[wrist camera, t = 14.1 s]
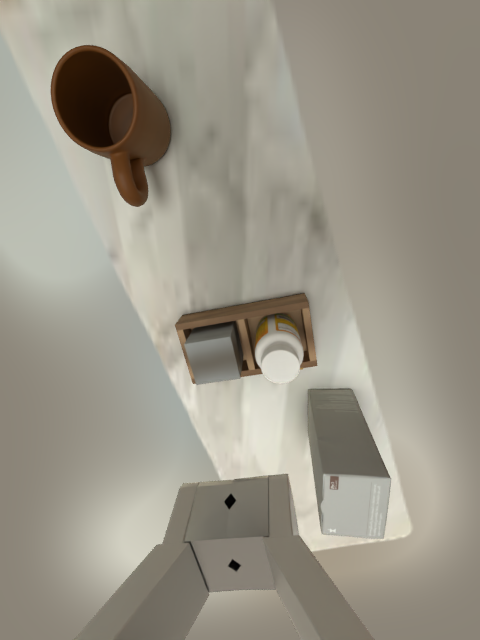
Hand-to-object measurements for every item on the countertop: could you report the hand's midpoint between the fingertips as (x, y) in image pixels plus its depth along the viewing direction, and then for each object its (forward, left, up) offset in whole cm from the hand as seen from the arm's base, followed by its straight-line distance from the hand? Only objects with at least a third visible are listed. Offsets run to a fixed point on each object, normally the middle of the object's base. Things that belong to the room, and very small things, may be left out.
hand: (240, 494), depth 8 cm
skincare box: (+22, +6, -31) cm, 39 cm away
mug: (-16, -10, -31) cm, 37 cm away
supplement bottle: (+8, +1, -31) cm, 32 cm away
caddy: (+8, -3, -31) cm, 32 cm away
